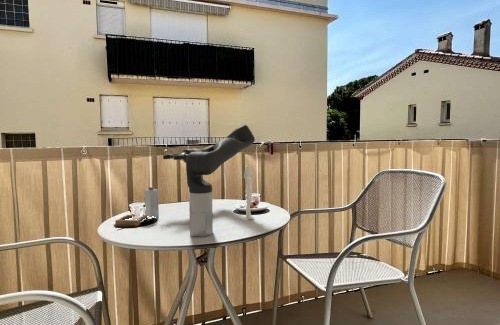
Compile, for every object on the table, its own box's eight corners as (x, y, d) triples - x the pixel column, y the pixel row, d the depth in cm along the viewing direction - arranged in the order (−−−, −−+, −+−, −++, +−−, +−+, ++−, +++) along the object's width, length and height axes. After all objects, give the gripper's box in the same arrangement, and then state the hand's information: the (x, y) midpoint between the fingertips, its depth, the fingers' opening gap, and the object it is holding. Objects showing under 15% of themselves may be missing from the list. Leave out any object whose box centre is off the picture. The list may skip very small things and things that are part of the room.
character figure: (255, 226, 137) (255, 169, 135) (244, 226, 137) (243, 169, 134) (253, 212, 161) (253, 164, 159) (244, 212, 161) (244, 164, 159)
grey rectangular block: (158, 217, 152) (157, 187, 151) (151, 219, 148) (149, 188, 147) (153, 216, 155) (152, 186, 153) (145, 218, 151) (144, 187, 150)
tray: (137, 226, 137) (136, 220, 137) (115, 225, 138) (115, 220, 138) (147, 220, 147) (146, 215, 147) (126, 219, 148) (126, 214, 148)
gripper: (201, 163, 167) (178, 165, 154) (183, 161, 176) (160, 164, 163) (201, 149, 167) (177, 150, 154) (183, 148, 175) (159, 149, 162)
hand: (168, 157), depth 158 cm, fingers open, 8 cm apart
